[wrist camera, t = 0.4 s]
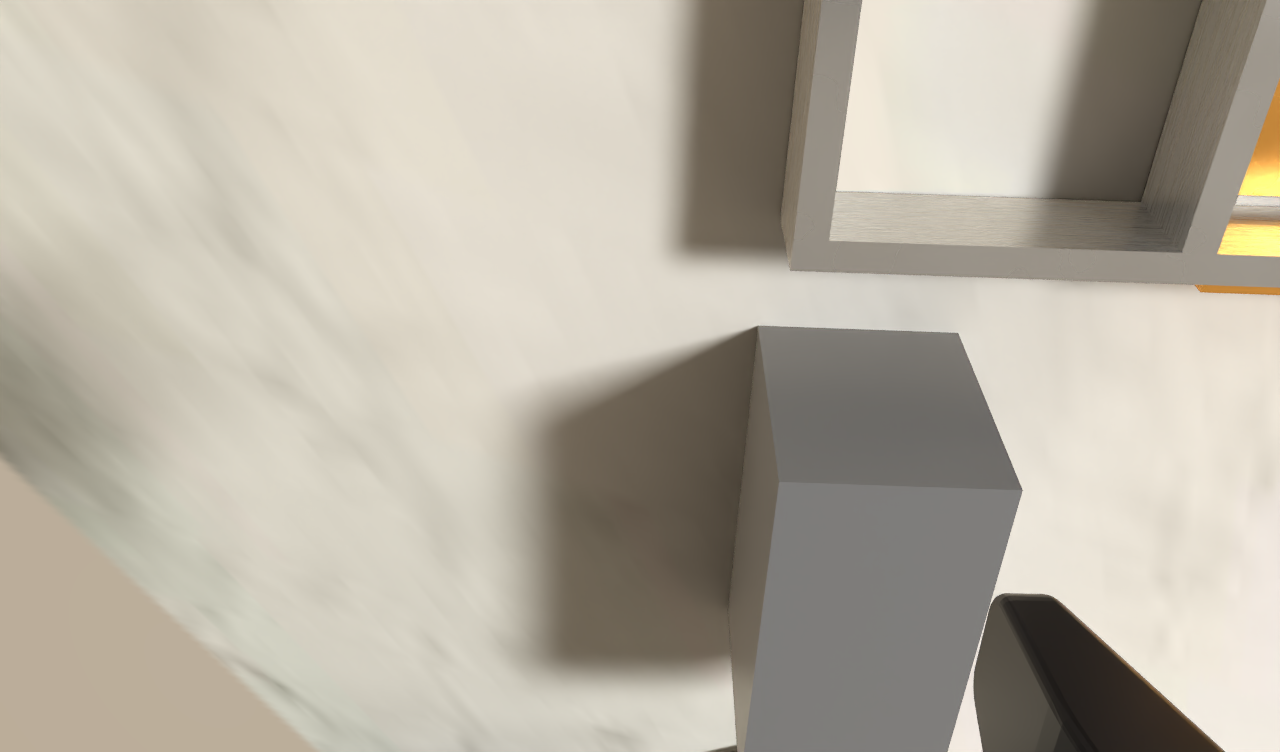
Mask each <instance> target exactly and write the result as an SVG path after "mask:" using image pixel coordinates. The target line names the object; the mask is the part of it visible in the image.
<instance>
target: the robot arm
mask: <svg viewBox="0 0 1280 752" xmlns="http://www.w3.org/2000/svg"><path fill="white" fill-rule="evenodd" d="M974 701H975V707H976V713H977V719H978V725H979V731H980V737H981V743H982V749H983V752H1225V751H1224V750H1223V749H1222V748H1220V747H1219V746H1218V745H1217V744H1216V743H1215V742H1214V741H1213V740H1212V739H1211V738H1209V737H1208V736H1207V735H1206V734H1205V733H1204V732H1203V731H1202V730H1201V729H1200V728H1198V727H1197V726H1196V725H1195V724H1194V723H1193V722H1192V721H1191V720H1190V719H1189V718H1187V717H1186V716H1185V715H1184V714H1183V713H1182V712H1181V711H1180V710H1179V709H1178V708H1176V707H1175V706H1174V705H1173V704H1172V703H1171V702H1170V701H1169V700H1168V699H1167V698H1165V697H1164V696H1163V695H1162V694H1161V693H1160V692H1159V691H1158V690H1157V689H1156V688H1154V687H1153V686H1152V685H1151V684H1150V683H1149V682H1148V681H1147V680H1146V679H1145V678H1143V677H1142V676H1141V675H1140V674H1139V673H1138V672H1137V671H1136V670H1135V669H1134V668H1133V667H1131V666H1130V665H1129V664H1128V663H1127V662H1126V661H1125V660H1124V659H1123V658H1122V657H1120V656H1119V655H1118V654H1117V653H1116V652H1115V651H1114V650H1113V649H1112V648H1111V647H1109V646H1108V645H1107V644H1106V643H1105V642H1104V641H1103V640H1102V639H1101V638H1100V637H1098V636H1097V635H1096V634H1095V633H1094V632H1093V631H1092V630H1091V629H1090V628H1089V627H1087V626H1086V625H1085V624H1084V623H1083V622H1082V621H1081V620H1080V619H1079V618H1078V617H1076V616H1075V615H1074V614H1073V613H1072V612H1071V611H1070V610H1069V609H1068V608H1067V607H1065V606H1064V605H1063V604H1062V603H1061V602H1060V601H1058V600H1057V599H1055V598H1054V597H1052V596H1050V595H1045V594H1011V593H1005V594H1001V595H999V596H997V597H996V598H995V599H994V601H993V602H992V604H991V606H990V609H989V613H988V617H987V621H986V625H985V629H984V633H983V637H982V641H981V645H980V650H979V654H978V658H977V662H976V666H975V671H974Z"/></svg>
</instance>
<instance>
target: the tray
mask: <svg viewBox="0 0 1280 752" xmlns="http://www.w3.org/2000/svg"><path fill="white" fill-rule="evenodd" d="M861 5H862V0H804V7H803V16H802V25H801V34H800V43H799V53H798V62H797V71H796V80H795V89H794V98H793V108H792V117H791V126H790V135H789V144H788V153H787V163H786V172H785V181H784V190H783V199H782V208H781V217H780V220H781V225H782V231H783V236H784V241H785V246H786V252H787V257H788V262H789V268H790V271H816V272H845V273H874V274H903V275H931V276H960V277H989V278H1018V279H1047V280H1076V281H1104V282H1133V283H1162V284H1191V285H1195V286H1196V287H1197V289H1198V290H1199V291H1200V292H1209V293H1238V294H1266V295H1280V207H1268V206H1239V205H1235V203H1236V200H1237V197H1238V195H1257V196H1280V0H1202V3H1201V6H1200V9H1199V12H1198V16H1197V19H1196V22H1195V26H1194V29H1193V32H1192V35H1191V39H1190V42H1189V45H1188V49H1187V52H1186V55H1185V58H1184V62H1183V65H1182V68H1181V72H1180V75H1179V78H1178V81H1177V85H1176V88H1175V91H1174V95H1173V98H1172V101H1171V104H1170V108H1169V111H1168V114H1167V118H1166V121H1165V124H1164V128H1163V131H1162V134H1161V137H1160V141H1159V144H1158V147H1157V151H1156V154H1155V157H1154V160H1153V164H1152V167H1151V170H1150V174H1149V177H1148V180H1147V183H1146V187H1145V190H1144V193H1143V197H1142V200H1141V202H1124V201H1096V200H1067V199H1038V198H1009V197H981V196H952V195H923V194H894V193H866V192H837V191H836V187H837V179H838V172H839V165H840V157H841V150H842V143H843V136H844V128H845V121H846V114H847V107H848V99H849V92H850V85H851V77H852V70H853V63H854V56H855V48H856V41H857V34H858V27H859V19H860V12H861Z"/></svg>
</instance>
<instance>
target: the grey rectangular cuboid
mask: <svg viewBox="0 0 1280 752" xmlns="http://www.w3.org/2000/svg"><path fill="white" fill-rule="evenodd" d="M1022 491H1023V490H1022V488H1021V485H1020V483H1019V480H1018V478H1017V476H1016V473H1015V471H1014V468H1013V466H1012V463H1011V461H1010V459H1009V456H1008V454H1007V451H1006V449H1005V446H1004V444H1003V441H1002V439H1001V437H1000V434H999V432H998V429H997V427H996V424H995V422H994V420H993V417H992V415H991V412H990V410H989V407H988V405H987V402H986V400H985V398H984V395H983V393H982V390H981V388H980V385H979V383H978V381H977V378H976V376H975V373H974V371H973V368H972V366H971V363H970V361H969V359H968V356H967V354H966V351H965V349H964V346H963V344H962V342H961V339H960V337H959V334H958V333H940V332H913V331H886V330H859V329H831V328H804V327H777V326H758V331H757V340H756V350H755V359H754V369H753V378H752V388H751V397H750V407H749V416H748V426H747V435H746V445H745V454H744V463H743V473H742V482H741V492H740V501H739V511H738V520H737V530H736V539H735V549H734V558H733V567H732V577H731V586H730V596H729V605H728V619H729V634H730V649H731V664H732V679H733V695H734V710H735V725H736V740H737V752H947V751H948V748H949V744H950V741H951V737H952V734H953V730H954V727H955V723H956V720H957V716H958V713H959V709H960V706H961V703H962V699H963V696H964V692H965V689H966V685H967V682H968V678H969V675H970V671H971V668H972V664H973V661H974V657H975V654H976V650H977V647H978V643H979V640H980V636H981V633H982V630H983V626H984V623H985V619H986V616H987V612H988V609H989V605H990V602H991V598H992V595H993V591H994V588H995V584H996V581H997V577H998V574H999V570H1000V567H1001V564H1002V560H1003V557H1004V553H1005V550H1006V546H1007V543H1008V539H1009V536H1010V532H1011V529H1012V525H1013V522H1014V518H1015V515H1016V511H1017V508H1018V504H1019V501H1020V498H1021V494H1022Z"/></svg>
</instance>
